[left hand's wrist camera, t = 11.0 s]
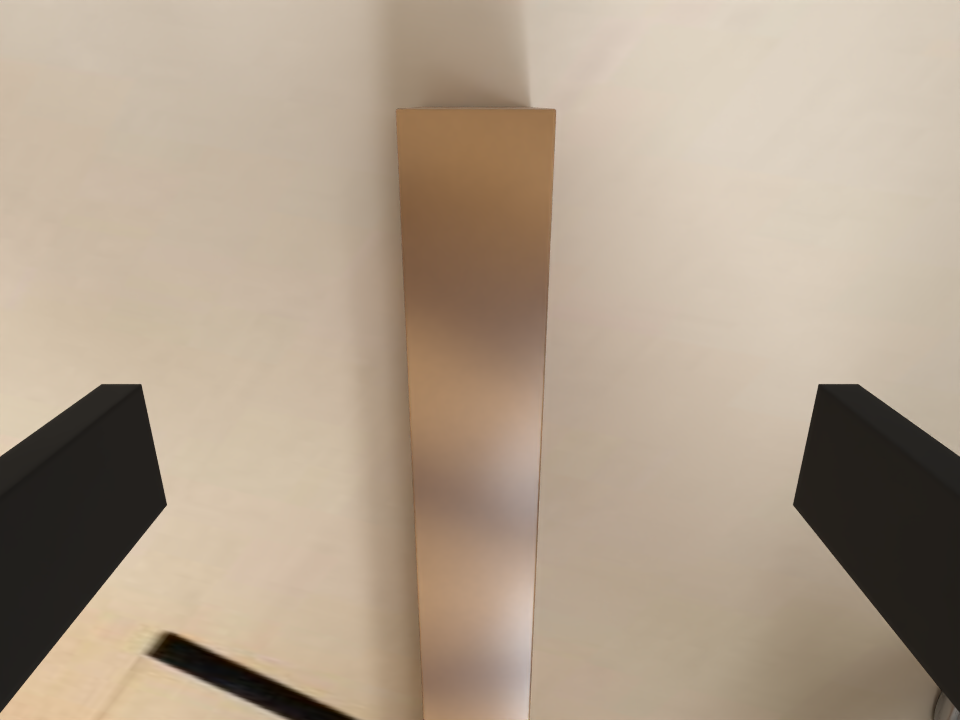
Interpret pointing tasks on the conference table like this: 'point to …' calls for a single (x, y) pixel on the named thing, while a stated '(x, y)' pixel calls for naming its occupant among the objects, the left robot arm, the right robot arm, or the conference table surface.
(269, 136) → the conference table surface
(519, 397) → the beam
